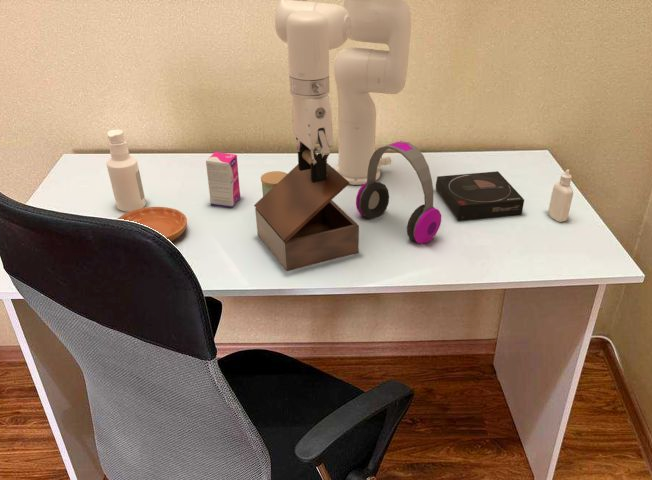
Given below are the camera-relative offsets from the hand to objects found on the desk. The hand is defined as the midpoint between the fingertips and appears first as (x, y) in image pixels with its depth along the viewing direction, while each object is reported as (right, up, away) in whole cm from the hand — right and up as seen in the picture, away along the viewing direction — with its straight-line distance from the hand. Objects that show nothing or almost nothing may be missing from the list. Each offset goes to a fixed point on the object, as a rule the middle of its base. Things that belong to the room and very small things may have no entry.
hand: (312, 174), depth 136 cm
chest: (-2, -13, +10) cm, 17 cm away
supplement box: (-23, 0, +26) cm, 35 cm away
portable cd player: (+39, +1, +29) cm, 48 cm away
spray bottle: (-46, -2, +23) cm, 51 cm away
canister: (-10, -4, +21) cm, 24 cm away
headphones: (+18, -8, +17) cm, 26 cm away
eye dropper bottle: (+57, -4, +24) cm, 62 cm away
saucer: (-37, -10, +13) cm, 41 cm away
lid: (-3, -4, +2) cm, 5 cm away
